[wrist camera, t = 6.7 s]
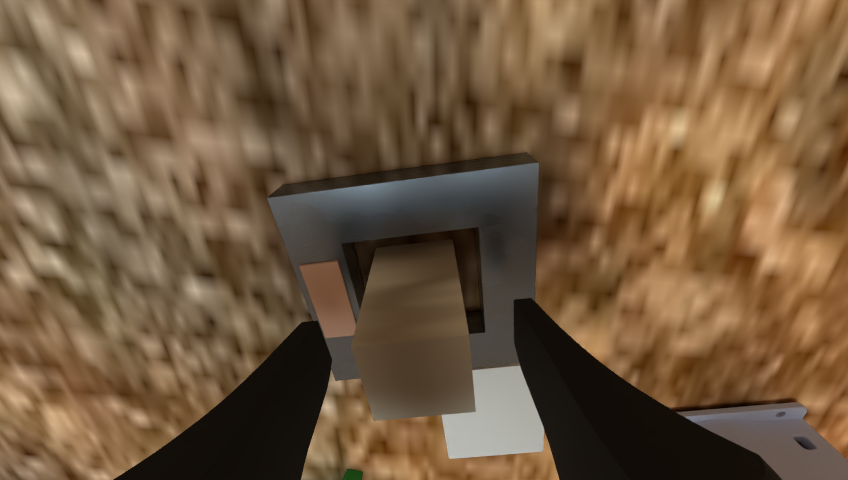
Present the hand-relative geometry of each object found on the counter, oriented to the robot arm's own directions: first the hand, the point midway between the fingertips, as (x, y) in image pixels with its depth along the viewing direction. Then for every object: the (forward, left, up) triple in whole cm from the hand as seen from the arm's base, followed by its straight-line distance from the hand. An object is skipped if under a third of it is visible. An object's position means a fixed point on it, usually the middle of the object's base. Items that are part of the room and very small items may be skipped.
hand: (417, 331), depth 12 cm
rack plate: (0, 0, -4) cm, 4 cm away
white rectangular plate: (-3, +10, -4) cm, 11 cm away
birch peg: (0, 0, -4) cm, 4 cm away
